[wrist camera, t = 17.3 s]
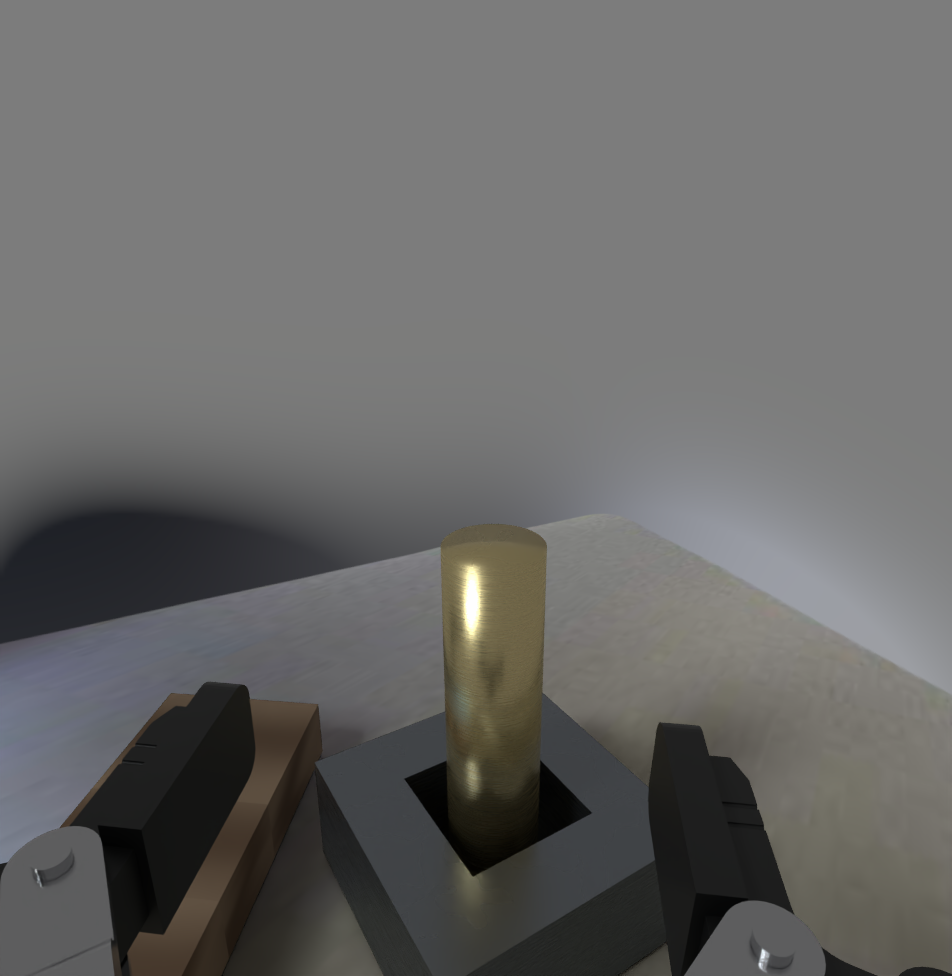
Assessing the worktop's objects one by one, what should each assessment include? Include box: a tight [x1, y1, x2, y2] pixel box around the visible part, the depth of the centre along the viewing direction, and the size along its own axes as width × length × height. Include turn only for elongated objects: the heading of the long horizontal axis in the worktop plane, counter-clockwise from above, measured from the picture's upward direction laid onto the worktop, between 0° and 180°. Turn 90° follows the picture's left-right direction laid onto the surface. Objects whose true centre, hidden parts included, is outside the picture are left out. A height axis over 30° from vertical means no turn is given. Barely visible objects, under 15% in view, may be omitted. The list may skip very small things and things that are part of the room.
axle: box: [441, 524, 547, 877], centre depth 27 cm, size 4×4×16 cm
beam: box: [60, 693, 322, 976], centre depth 29 cm, size 18×8×3 cm, turn 174°
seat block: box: [315, 693, 667, 976], centre depth 29 cm, size 11×11×5 cm
